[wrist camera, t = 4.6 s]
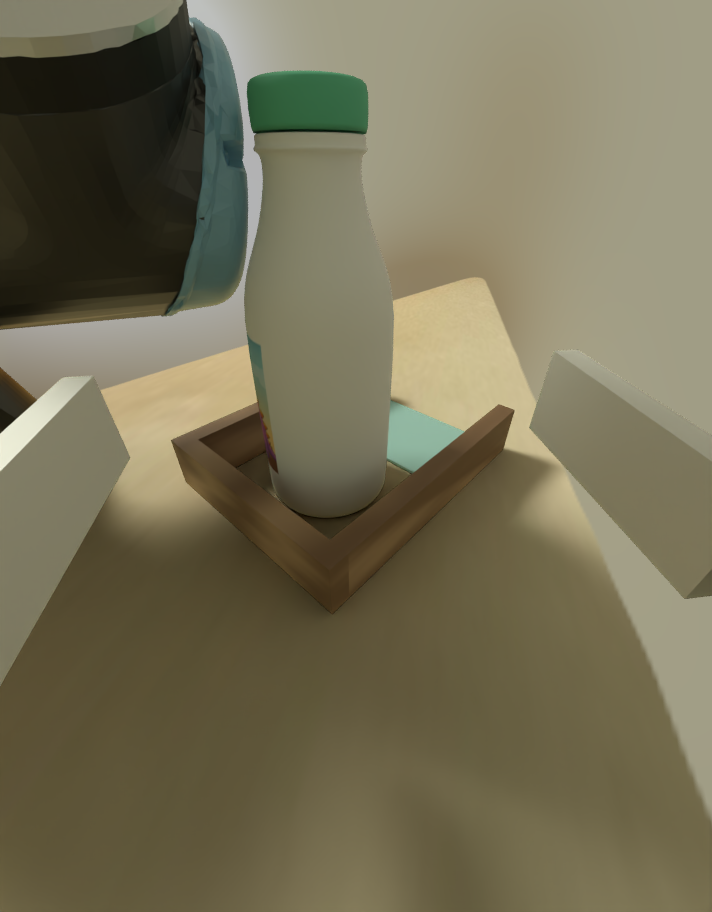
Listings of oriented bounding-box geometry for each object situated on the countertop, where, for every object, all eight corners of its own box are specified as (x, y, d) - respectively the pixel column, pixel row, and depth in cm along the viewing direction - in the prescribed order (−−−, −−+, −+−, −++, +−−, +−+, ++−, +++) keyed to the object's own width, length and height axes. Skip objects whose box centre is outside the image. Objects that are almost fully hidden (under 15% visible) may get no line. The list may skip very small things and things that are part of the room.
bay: (185, 481, 26) (170, 440, 24) (363, 389, 37) (363, 355, 35) (332, 614, 19) (329, 570, 16) (503, 449, 29) (514, 410, 27)
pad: (322, 425, 32) (322, 423, 32) (376, 395, 36) (376, 393, 36) (432, 484, 26) (433, 482, 26) (482, 441, 30) (482, 439, 30)
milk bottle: (402, 466, 28) (438, 85, 16) (352, 539, 22) (349, 44, 10) (312, 438, 31) (283, 97, 18) (249, 497, 25) (149, 69, 13)
